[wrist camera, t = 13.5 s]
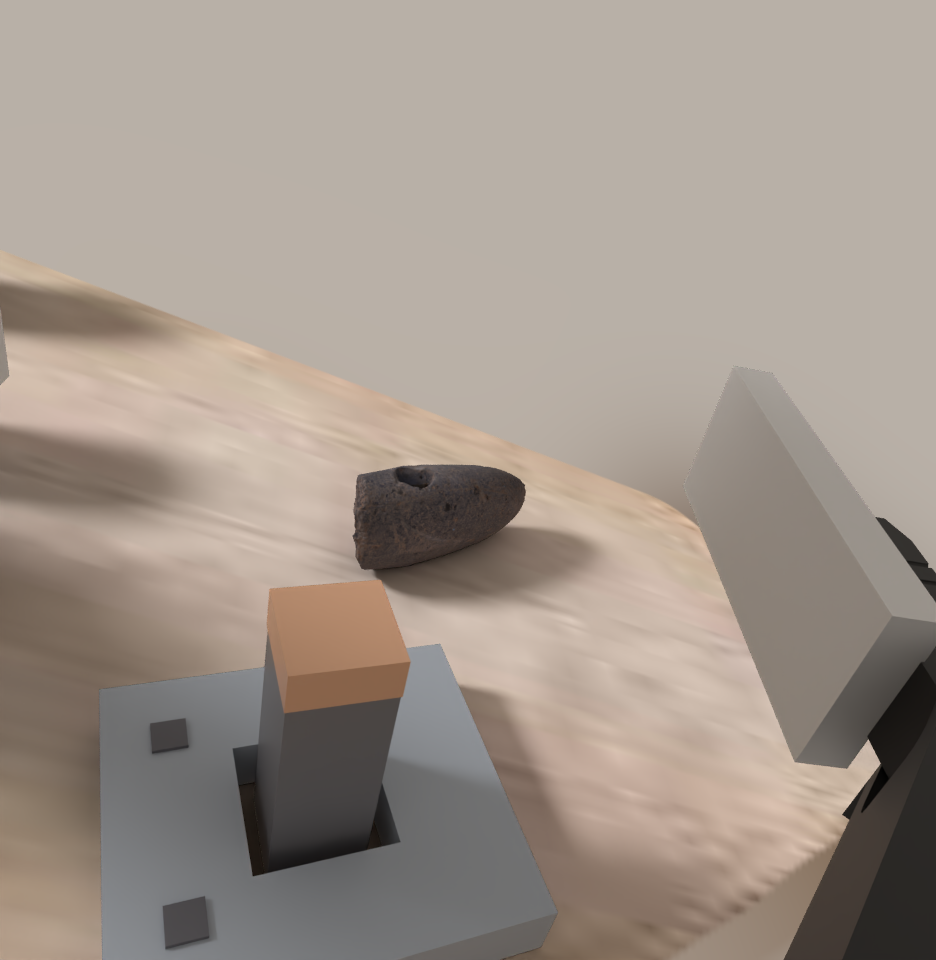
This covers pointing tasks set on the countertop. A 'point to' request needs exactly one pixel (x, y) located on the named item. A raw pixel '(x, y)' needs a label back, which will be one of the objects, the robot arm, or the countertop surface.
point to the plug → (325, 719)
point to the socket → (320, 885)
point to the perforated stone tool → (430, 511)
